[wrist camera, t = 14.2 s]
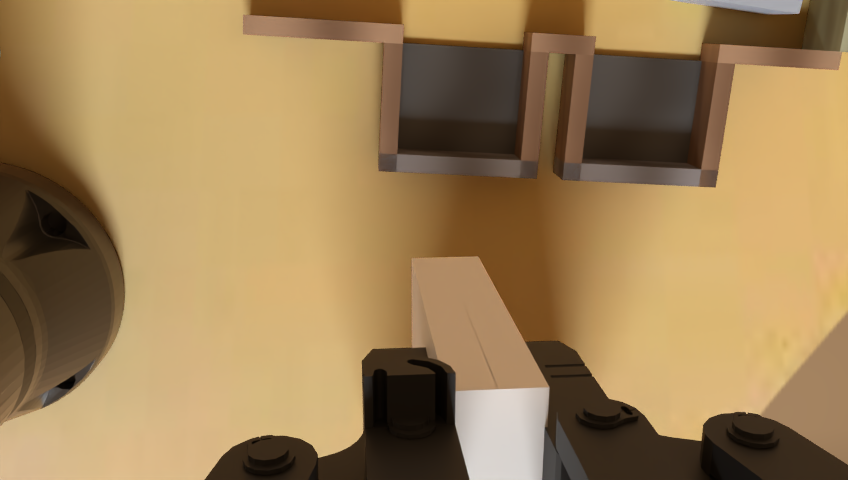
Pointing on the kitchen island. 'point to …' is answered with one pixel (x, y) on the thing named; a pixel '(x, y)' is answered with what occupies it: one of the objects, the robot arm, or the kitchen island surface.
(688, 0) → the gray block
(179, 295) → the kitchen island surface
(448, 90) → the trap lane
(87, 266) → the robot arm
